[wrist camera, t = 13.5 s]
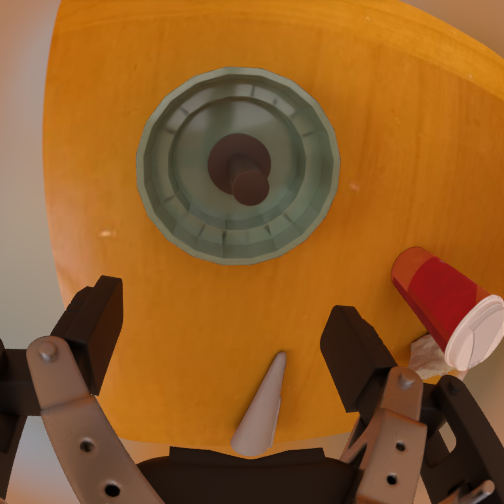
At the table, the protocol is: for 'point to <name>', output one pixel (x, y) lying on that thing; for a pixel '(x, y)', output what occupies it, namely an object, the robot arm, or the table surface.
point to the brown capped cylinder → (240, 168)
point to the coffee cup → (450, 307)
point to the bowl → (212, 198)
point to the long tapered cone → (261, 413)
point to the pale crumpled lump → (427, 358)
